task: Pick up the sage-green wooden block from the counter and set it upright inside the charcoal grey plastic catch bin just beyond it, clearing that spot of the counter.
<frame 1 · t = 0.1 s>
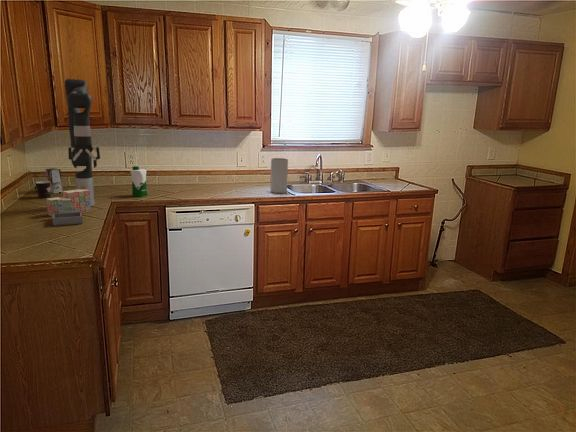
hand: (85, 167, 214), 29 cm above the worktop, tool pointing down, fingers open, 8 cm apart
coffee mug: (42, 198, 276), on the worktop
catch bin: (68, 222, 222), on the worktop
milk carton: (139, 196, 293), on the worktop
sage block: (68, 217, 231), on the worktop
stack of blocks: (70, 213, 242), on the worktop
coffee box: (55, 192, 295), on the worktop
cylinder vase: (278, 192, 324), on the worktop
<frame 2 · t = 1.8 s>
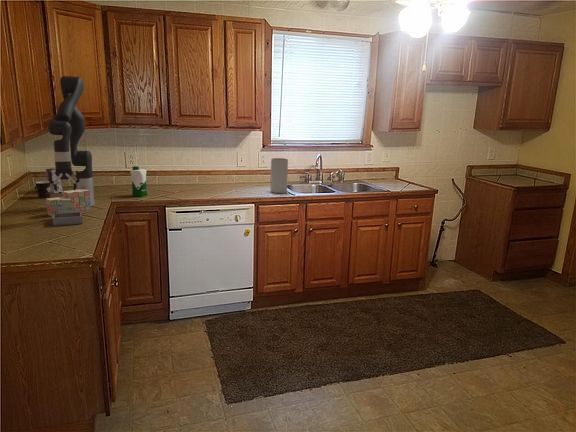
hand: (65, 190, 227), 15 cm above the worktop, tool pointing down, fingers open, 8 cm apart
nothing on the worktop moved.
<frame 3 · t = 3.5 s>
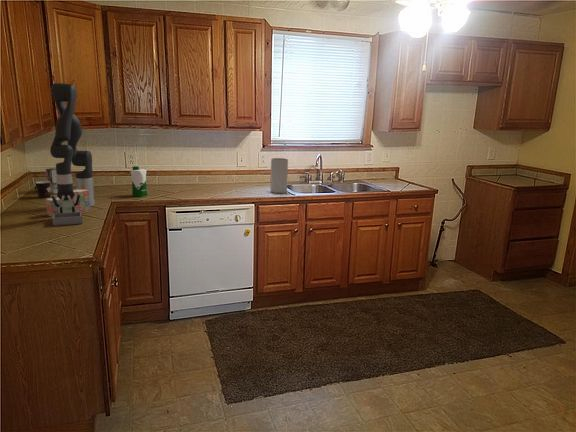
hand: (67, 213, 230), 2 cm above the worktop, tool pointing down, fingers closed on sage block, 4 cm apart
sage block: (68, 217, 231), on the worktop, touching gripper
everything else where it was.
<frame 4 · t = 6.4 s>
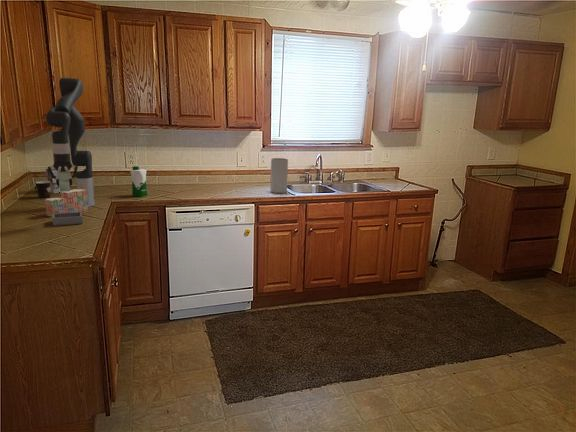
hand: (64, 186, 217), 19 cm above the worktop, tool pointing down, fingers closed on sage block, 4 cm apart
sage block: (65, 190, 218), point 17 cm above the worktop, touching gripper
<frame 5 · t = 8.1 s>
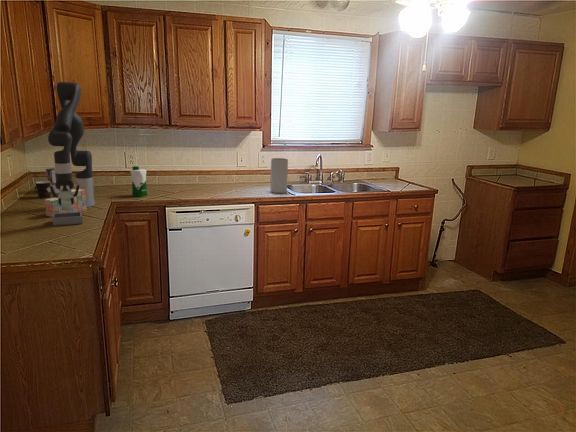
hand: (66, 204, 220), 9 cm above the worktop, tool pointing down, fingers closed on sage block, 4 cm apart
sage block: (66, 209, 220), point 7 cm above the worktop, touching gripper
when the fingers open (4 cm above the worktop, at t = 9.5 s): sage block drops 1 cm, resting on catch bin.
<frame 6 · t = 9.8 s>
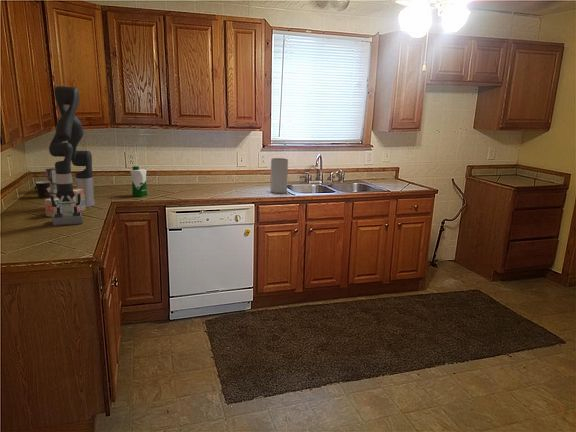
hand: (67, 213, 221), 5 cm above the worktop, tool pointing down, fingers open, 6 cm apart
sage block: (68, 221, 222), resting on catch bin
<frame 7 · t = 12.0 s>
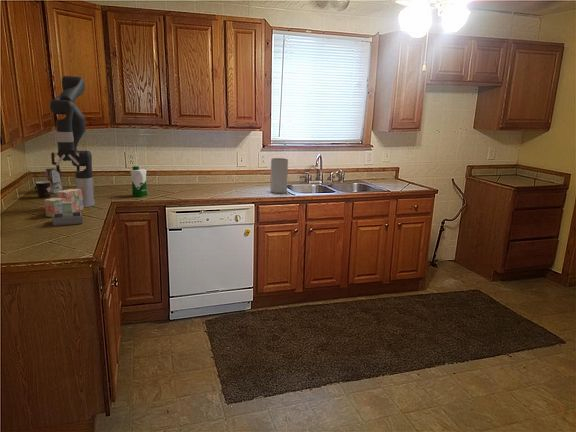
hand: (68, 172, 220), 26 cm above the worktop, tool pointing down, fingers open, 8 cm apart
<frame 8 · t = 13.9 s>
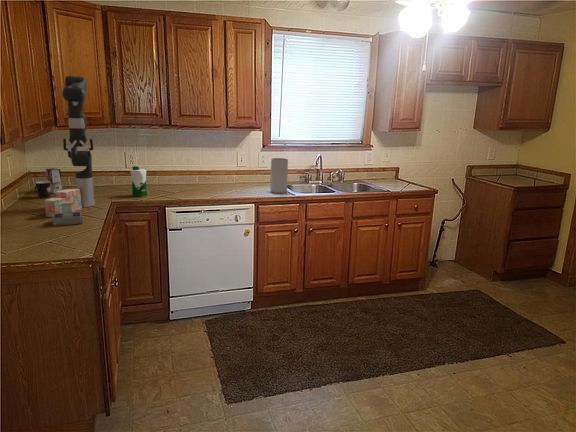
hand: (79, 158, 227), 32 cm above the worktop, tool pointing down, fingers open, 8 cm apart
at the end: sage block 0.1 cm off-centre on the catch bin, point 0.5 cm above the catch bin's base; sage block tilted 0°; the gripper is holding nothing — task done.
